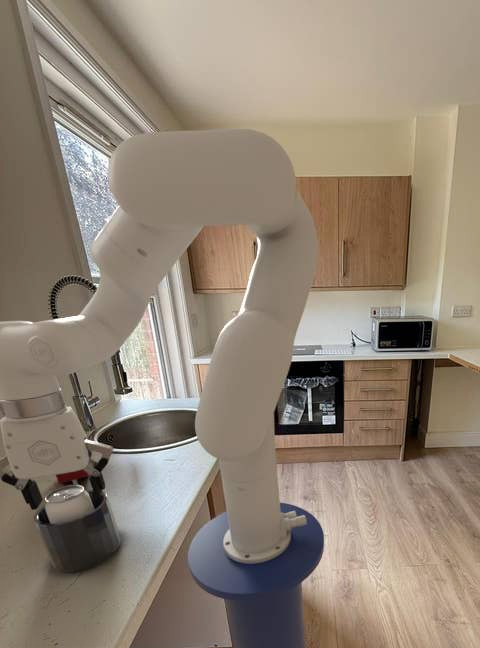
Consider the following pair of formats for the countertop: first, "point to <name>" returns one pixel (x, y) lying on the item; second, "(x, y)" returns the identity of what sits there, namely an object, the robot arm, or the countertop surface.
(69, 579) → the countertop surface
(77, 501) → the can
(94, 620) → the countertop surface
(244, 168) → the robot arm
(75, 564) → the open gray tub
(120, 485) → the countertop surface
